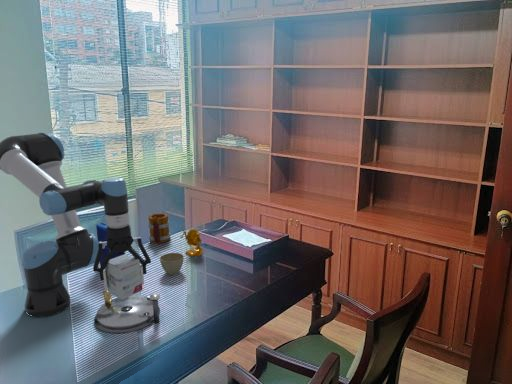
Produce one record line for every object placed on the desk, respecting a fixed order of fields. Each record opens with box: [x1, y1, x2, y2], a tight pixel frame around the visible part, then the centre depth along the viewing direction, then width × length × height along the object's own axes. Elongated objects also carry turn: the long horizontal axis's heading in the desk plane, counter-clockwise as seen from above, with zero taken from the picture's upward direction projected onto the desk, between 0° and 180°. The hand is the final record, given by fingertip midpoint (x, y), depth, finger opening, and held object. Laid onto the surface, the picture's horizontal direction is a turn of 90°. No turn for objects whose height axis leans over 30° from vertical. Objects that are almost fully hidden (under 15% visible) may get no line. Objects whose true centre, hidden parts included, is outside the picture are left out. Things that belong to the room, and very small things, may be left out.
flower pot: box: [159, 252, 185, 276], centre depth 187 cm, size 10×10×7 cm
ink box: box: [105, 253, 143, 299], centre depth 150 cm, size 9×9×12 cm
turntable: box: [96, 289, 154, 329], centre depth 153 cm, size 20×20×7 cm
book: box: [95, 221, 126, 266], centre depth 190 cm, size 14×5×20 cm, turn 53°
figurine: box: [180, 228, 204, 257], centre depth 206 cm, size 9×11×12 cm
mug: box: [147, 212, 171, 245], centre depth 222 cm, size 11×16×15 cm, turn 4°
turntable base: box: [93, 293, 161, 334], centre depth 153 cm, size 22×22×10 cm
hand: (124, 285), depth 151 cm, fingers closed on ink box, 11 cm apart
